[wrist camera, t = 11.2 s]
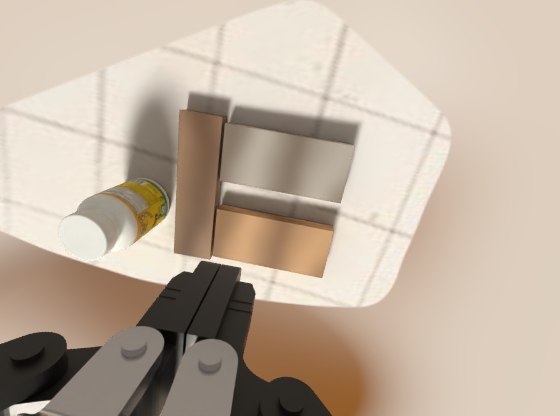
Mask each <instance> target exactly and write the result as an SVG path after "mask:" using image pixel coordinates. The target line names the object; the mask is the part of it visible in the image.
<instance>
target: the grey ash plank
mask: <svg viewBox="0 0 560 416" xmlns="http://www.w3.org/2000/svg"><path fill="white" fill-rule="evenodd" d="M354 148H355V146H354V145H353V144H348V143H342V142H336V141H331V140H325V139H319V138H314V137H308V136H302V135H297V134H291V133H285V132H280V131H274V130H268V129H263V128H257V127H251V126H246V125H240V124H234V123H225V129H224V140H223V151H222V161H221V172H220V181H224V182H229V183H234V184H240V185H245V186H250V187H256V188H261V189H266V190H272V191H277V192H282V193H288V194H293V195H298V196H304V197H309V198H314V199H320V200H325V201H330V202H336V203H341V200H342V196H343V192H344V188H345V184H346V180H347V176H348V172H349V168H350V164H351V160H352V156H353V152H354Z"/></svg>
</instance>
